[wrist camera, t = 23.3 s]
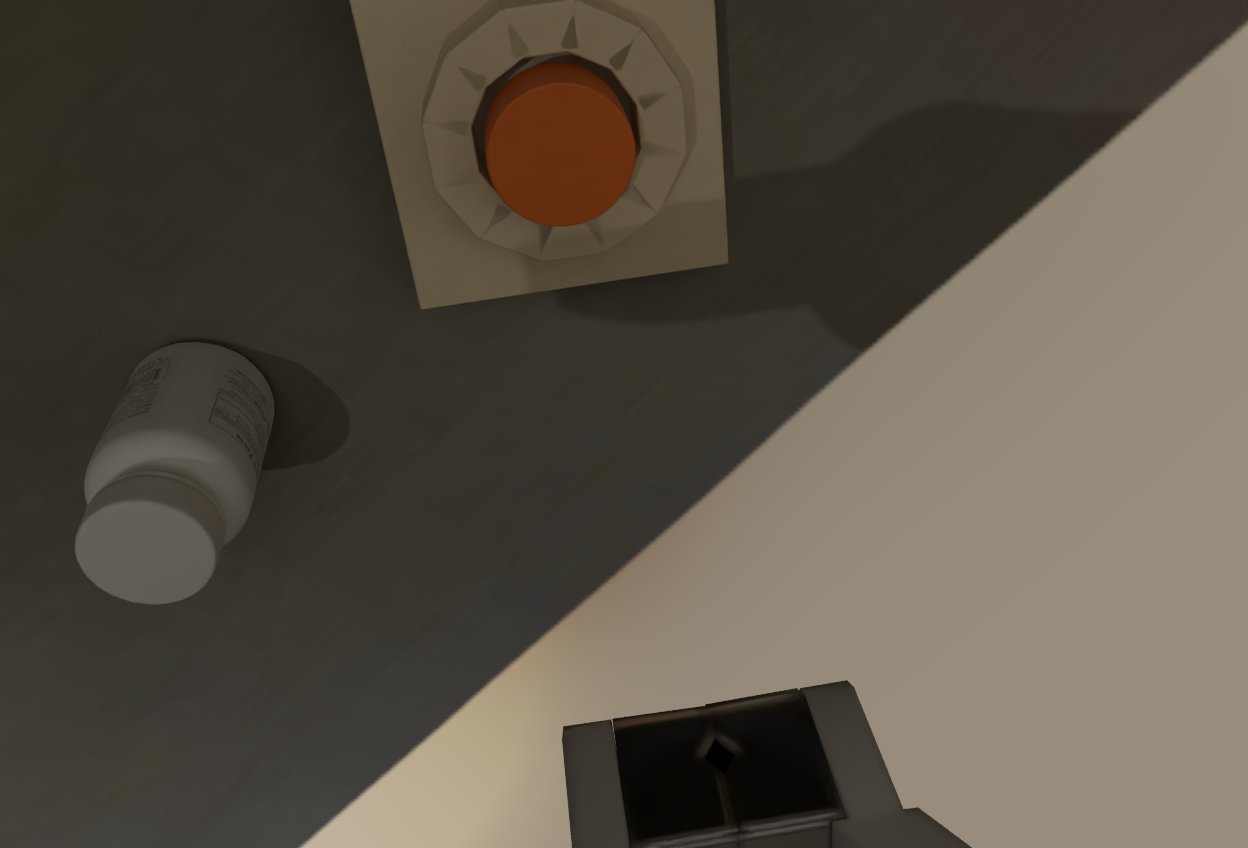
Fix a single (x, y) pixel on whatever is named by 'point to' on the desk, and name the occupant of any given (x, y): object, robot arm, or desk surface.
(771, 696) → the robot arm
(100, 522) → the pill bottle
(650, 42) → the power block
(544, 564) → the desk surface
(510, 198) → the power button
